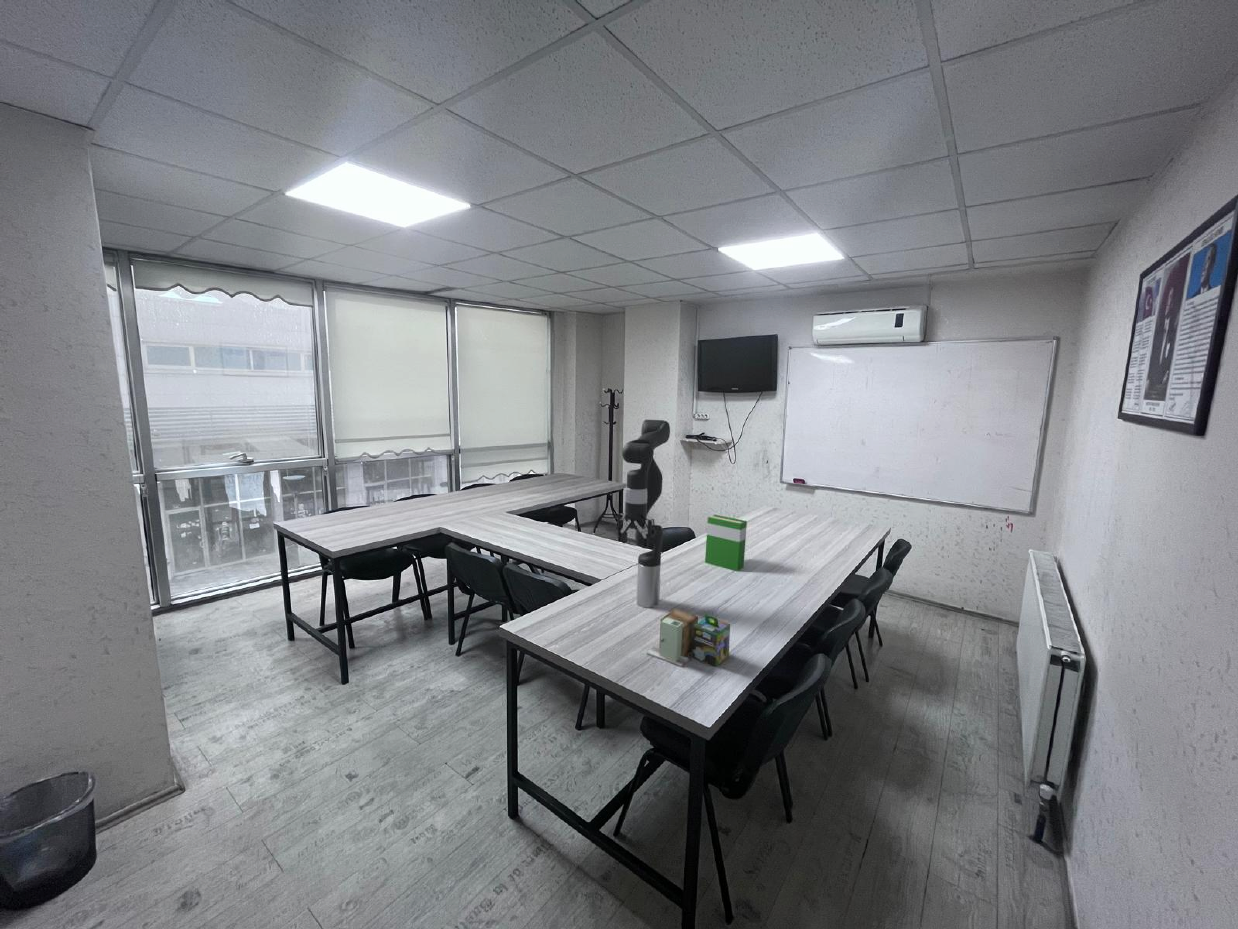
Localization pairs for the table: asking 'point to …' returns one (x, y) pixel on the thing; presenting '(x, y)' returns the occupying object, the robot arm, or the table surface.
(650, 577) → the robot arm
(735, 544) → the hardback book
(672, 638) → the hollow square pipe
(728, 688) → the table surface
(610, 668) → the table surface
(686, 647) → the small wooden cupboard
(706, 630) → the chalk box
